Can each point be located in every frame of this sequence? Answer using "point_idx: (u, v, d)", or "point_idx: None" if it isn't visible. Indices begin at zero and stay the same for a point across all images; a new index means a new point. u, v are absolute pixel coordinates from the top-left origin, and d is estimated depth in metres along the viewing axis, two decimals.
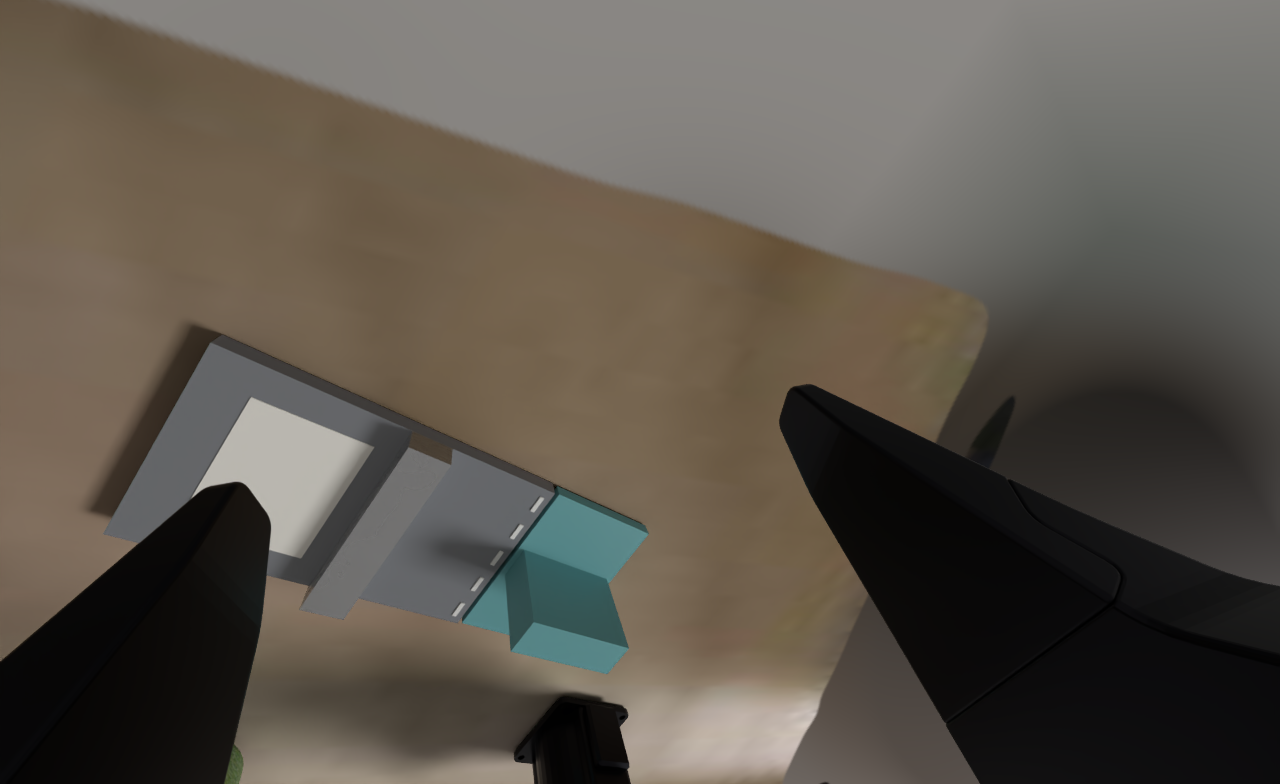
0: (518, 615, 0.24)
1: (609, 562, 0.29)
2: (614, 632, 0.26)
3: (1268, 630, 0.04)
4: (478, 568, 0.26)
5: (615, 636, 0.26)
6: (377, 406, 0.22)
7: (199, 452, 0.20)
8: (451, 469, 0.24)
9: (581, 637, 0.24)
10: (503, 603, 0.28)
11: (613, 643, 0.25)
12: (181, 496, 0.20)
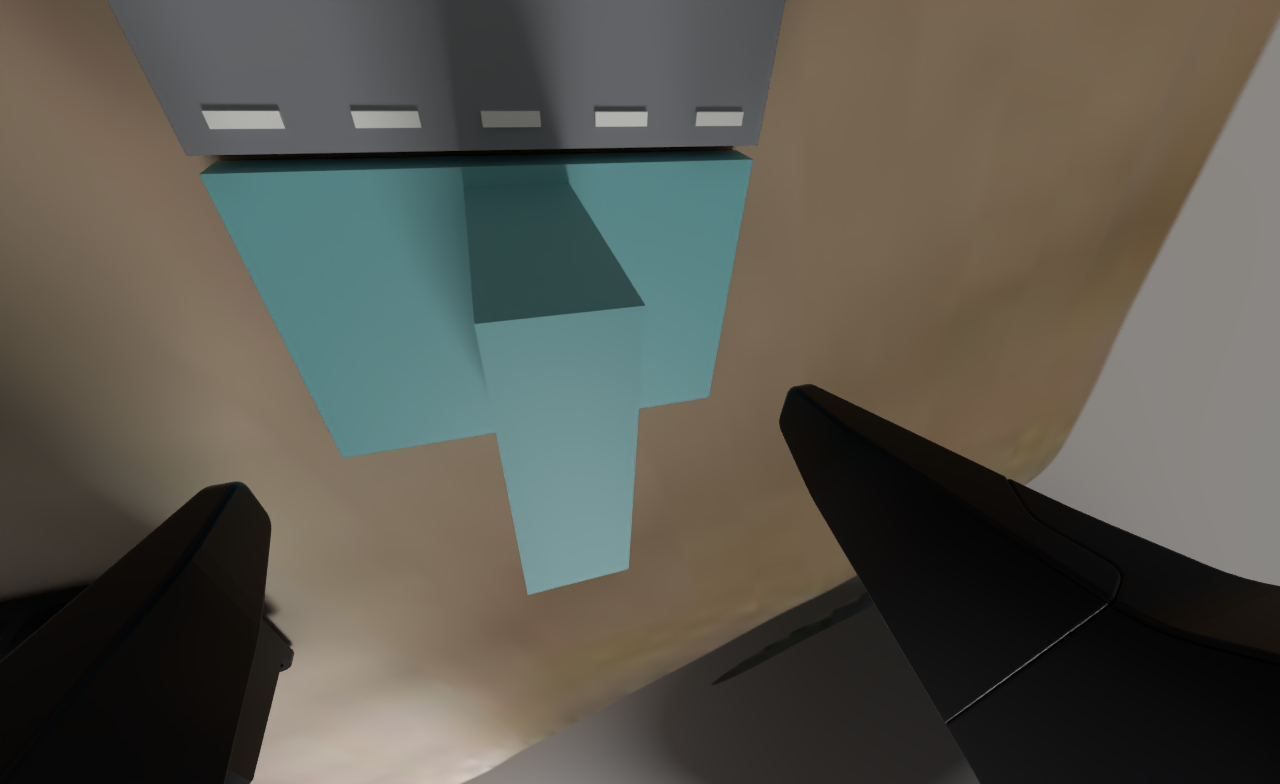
0: (535, 264, 0.07)
1: None
2: None
3: (1268, 630, 0.04)
4: (443, 84, 0.08)
5: None
6: None
7: None
8: None
9: (625, 469, 0.08)
10: (370, 249, 0.09)
11: None
12: None
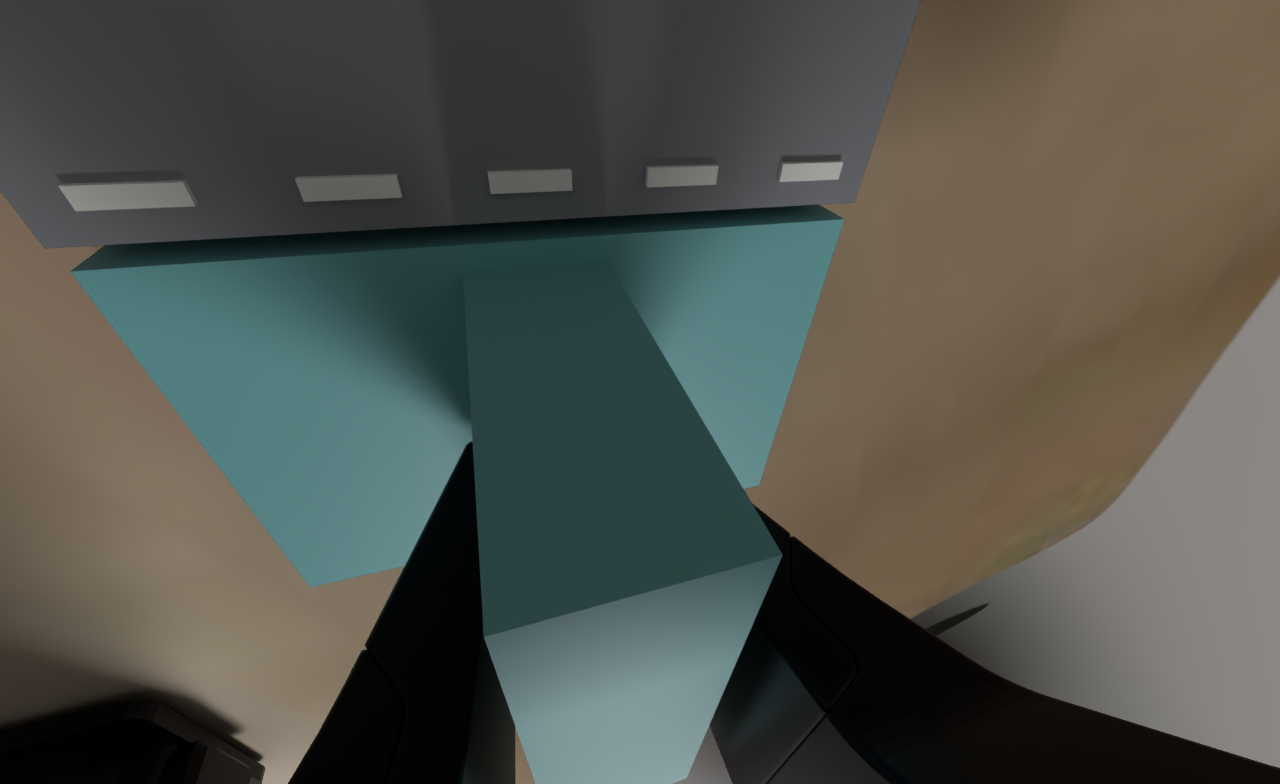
0: (579, 445, 0.04)
1: None
2: None
3: (970, 768, 0.03)
4: (434, 135, 0.05)
5: None
6: None
7: None
8: None
9: (703, 709, 0.05)
10: (334, 354, 0.07)
11: None
12: None
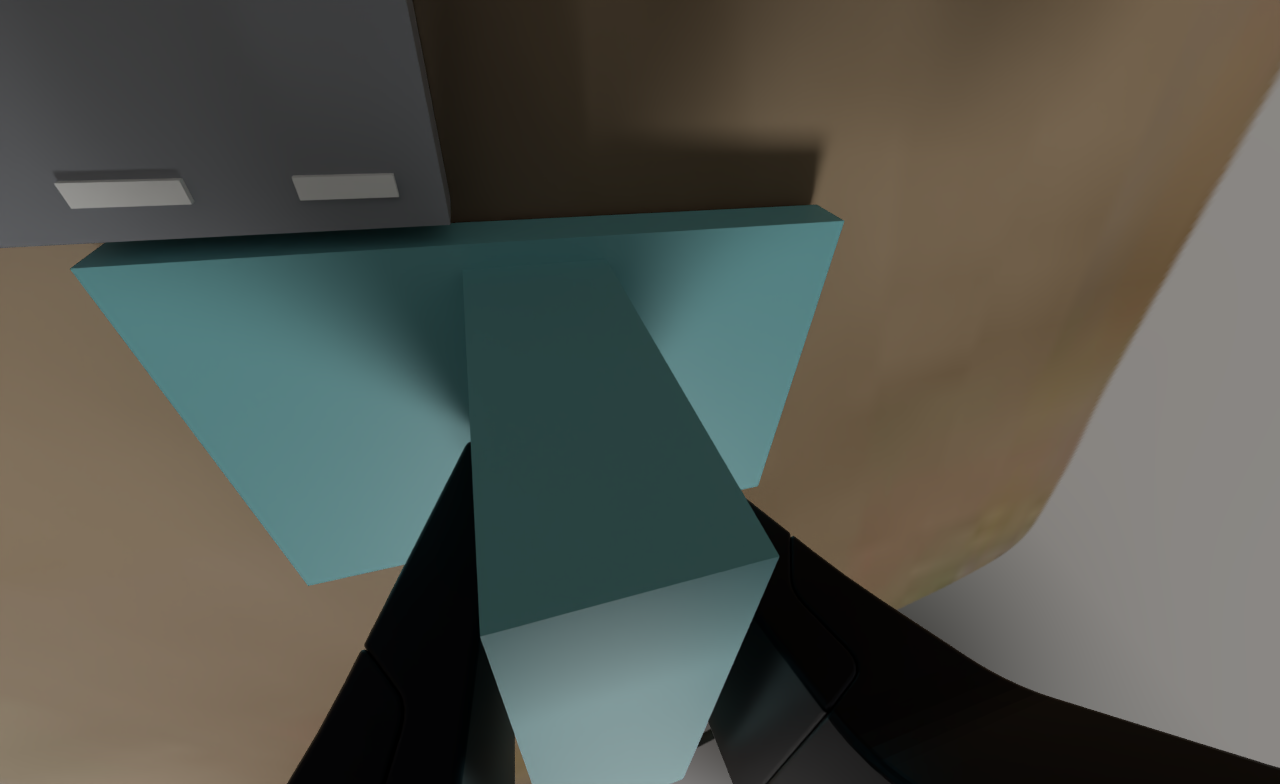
0: (578, 446, 0.04)
1: None
2: None
3: (970, 767, 0.03)
4: None
5: None
6: None
7: None
8: None
9: (700, 710, 0.05)
10: (333, 353, 0.07)
11: None
12: None
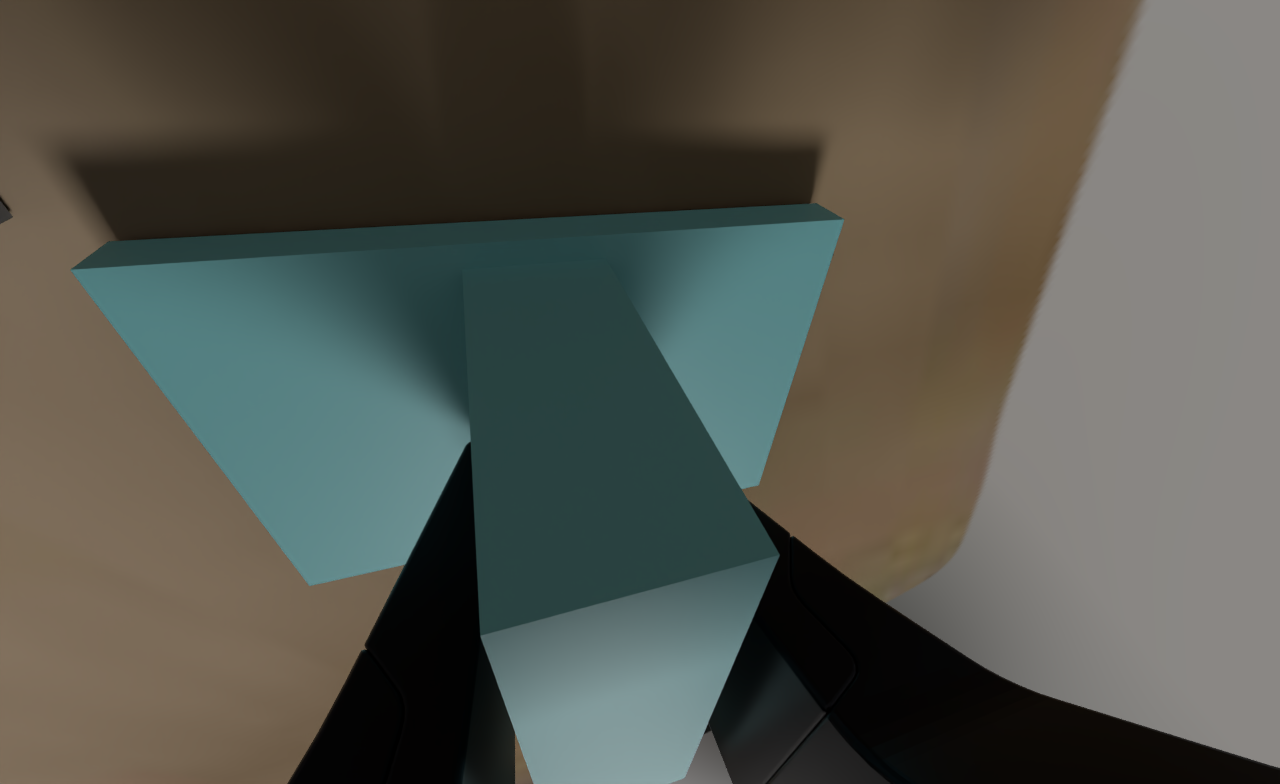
0: (577, 445, 0.04)
1: None
2: None
3: (970, 768, 0.03)
4: None
5: None
6: None
7: None
8: None
9: (701, 709, 0.05)
10: (333, 353, 0.07)
11: None
12: None
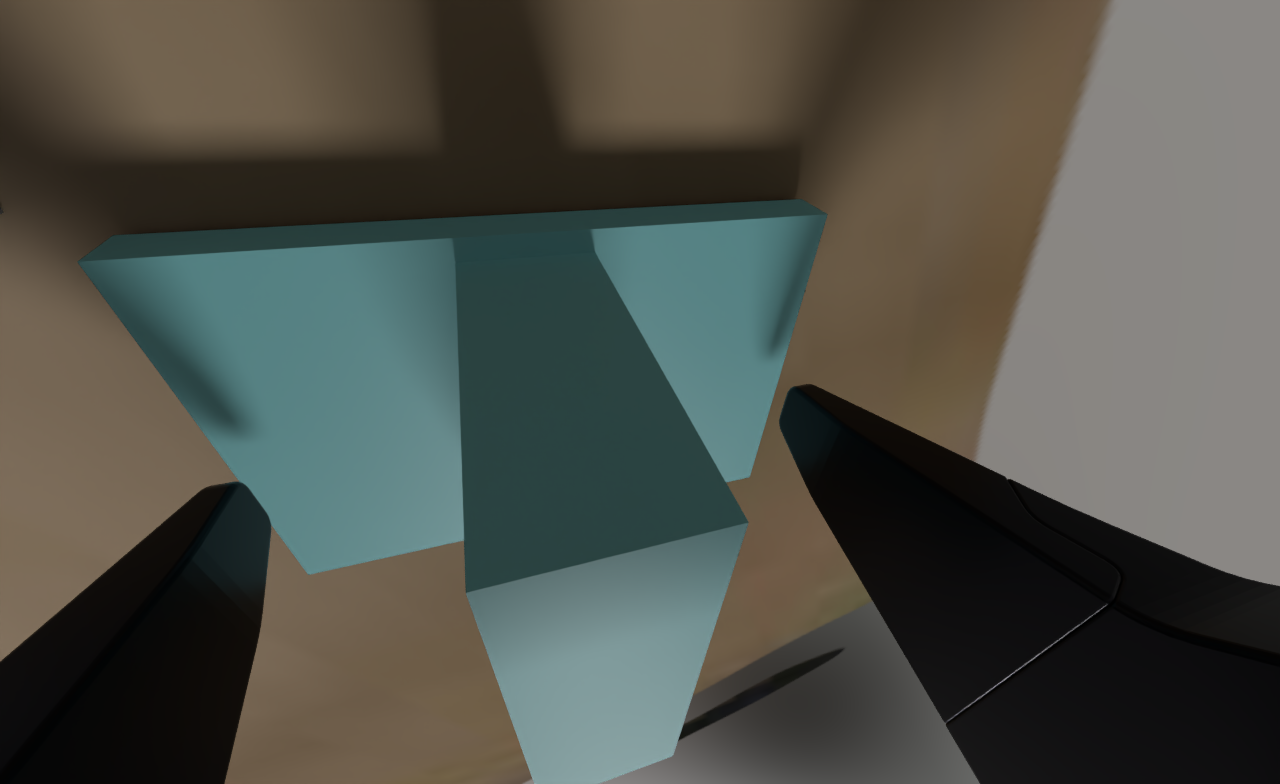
0: (561, 424, 0.04)
1: None
2: None
3: (1268, 630, 0.04)
4: None
5: None
6: None
7: None
8: None
9: (684, 683, 0.05)
10: (331, 344, 0.07)
11: None
12: None
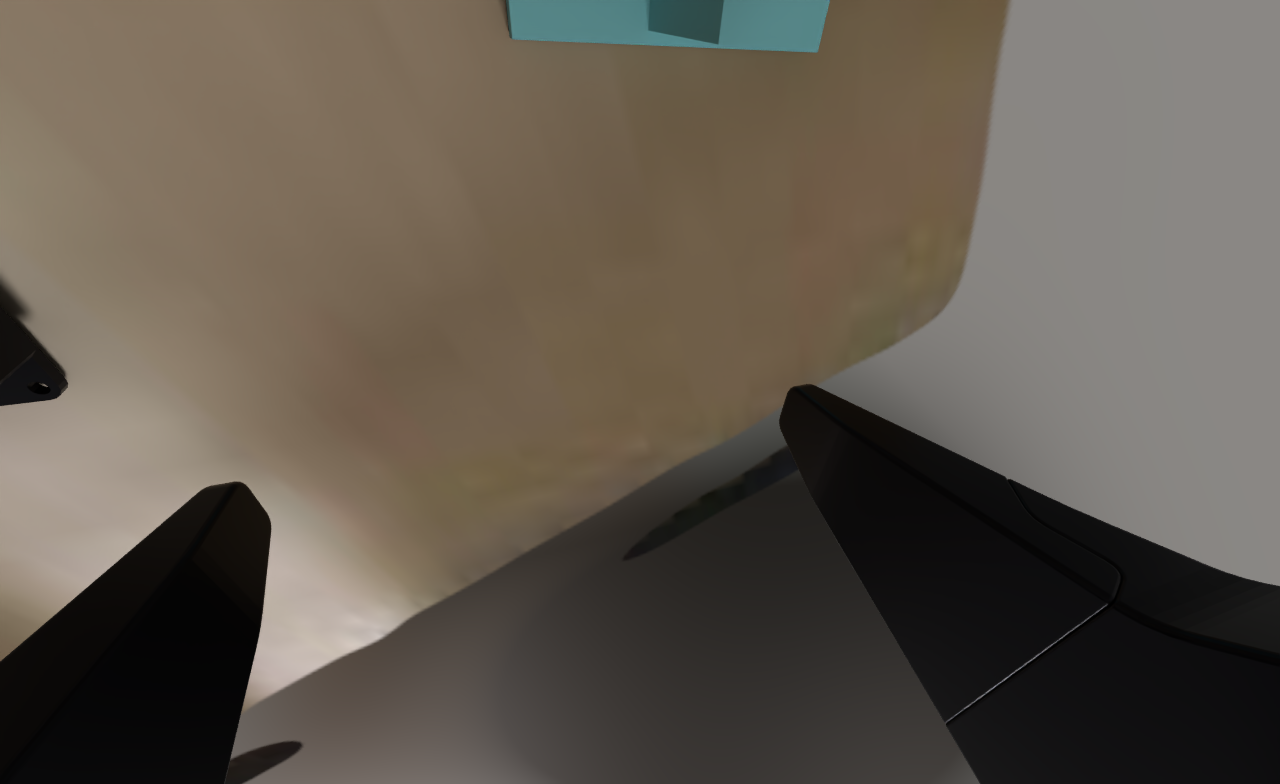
0: None
1: None
2: None
3: (1268, 630, 0.04)
4: None
5: None
6: None
7: None
8: None
9: None
10: None
11: None
12: None
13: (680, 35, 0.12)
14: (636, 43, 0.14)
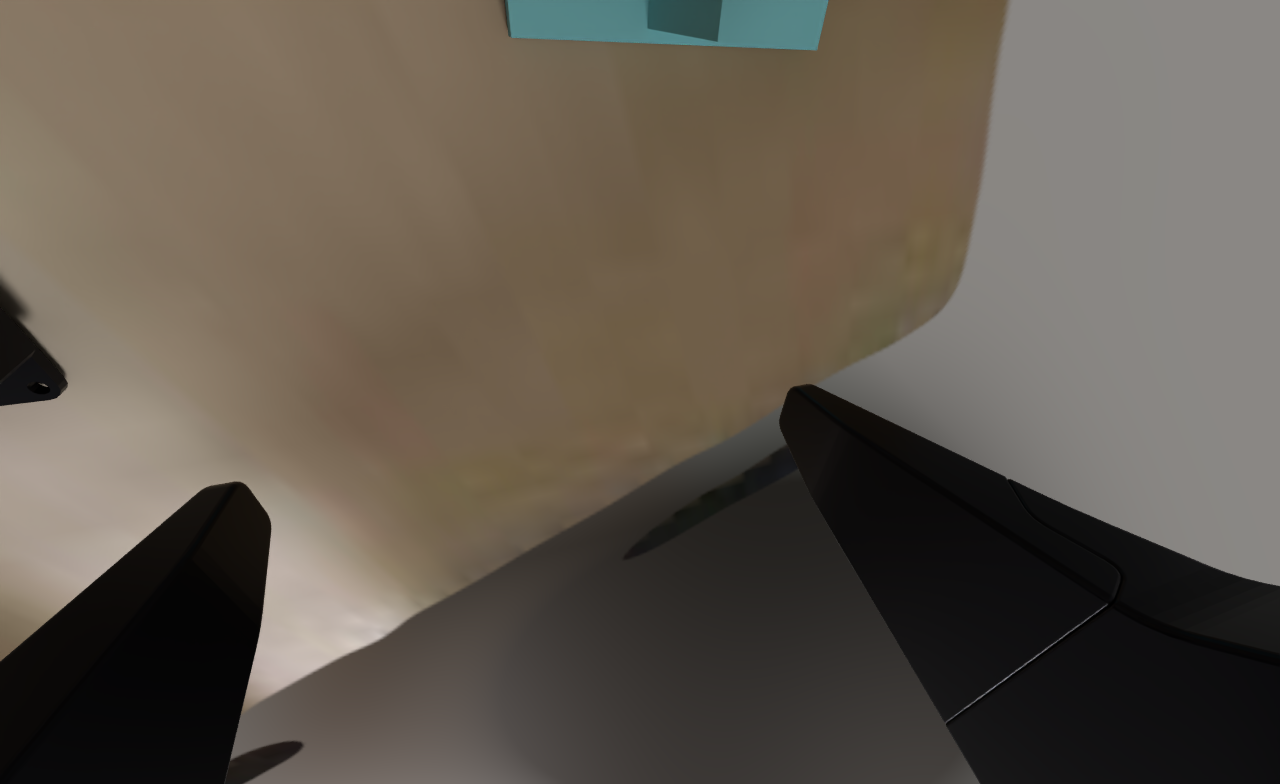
0: None
1: None
2: None
3: (1268, 630, 0.04)
4: None
5: None
6: None
7: None
8: None
9: None
10: None
11: None
12: None
13: (679, 33, 0.12)
14: (635, 41, 0.14)
